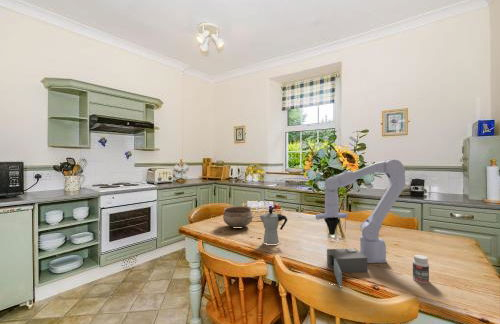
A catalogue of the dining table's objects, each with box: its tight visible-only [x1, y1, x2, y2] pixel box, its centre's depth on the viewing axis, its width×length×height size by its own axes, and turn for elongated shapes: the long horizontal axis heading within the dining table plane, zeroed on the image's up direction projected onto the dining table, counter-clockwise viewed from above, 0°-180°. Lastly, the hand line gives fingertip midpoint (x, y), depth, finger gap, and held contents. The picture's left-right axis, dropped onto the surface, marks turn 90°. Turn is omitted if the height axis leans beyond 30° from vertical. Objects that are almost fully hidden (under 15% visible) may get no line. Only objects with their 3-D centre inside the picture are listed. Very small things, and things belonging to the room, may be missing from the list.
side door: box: [333, 259, 343, 287], centre depth 87 cm, size 12×1×5 cm, turn 170°
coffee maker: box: [258, 208, 288, 244], centre depth 126 cm, size 15×9×18 cm, turn 83°
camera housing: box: [326, 247, 369, 274], centre depth 98 cm, size 13×10×6 cm
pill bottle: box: [412, 254, 430, 284], centre depth 86 cm, size 5×5×8 cm
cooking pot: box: [222, 205, 254, 228], centre depth 157 cm, size 25×19×12 cm
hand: (331, 234), depth 110 cm, fingers closed
